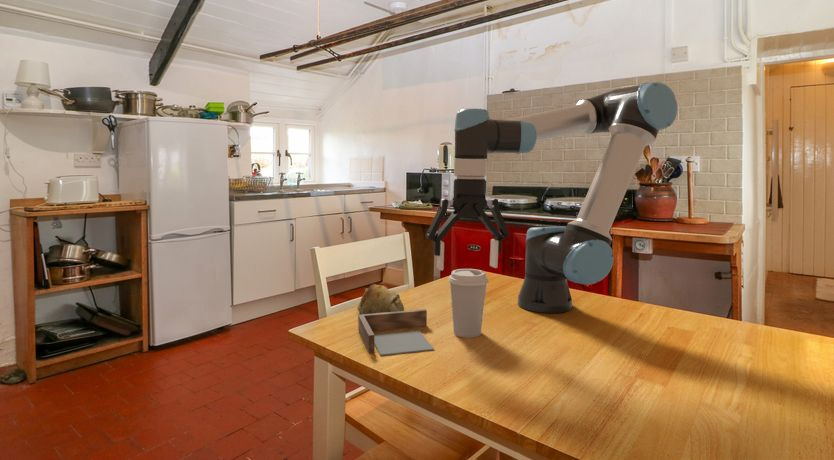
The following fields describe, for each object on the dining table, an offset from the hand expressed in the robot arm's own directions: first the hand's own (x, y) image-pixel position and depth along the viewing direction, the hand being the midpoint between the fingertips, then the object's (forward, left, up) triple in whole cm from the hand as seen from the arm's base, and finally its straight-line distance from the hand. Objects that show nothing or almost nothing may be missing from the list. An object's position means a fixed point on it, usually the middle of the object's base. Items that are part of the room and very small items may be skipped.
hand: (467, 268), depth 113 cm
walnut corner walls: (+16, -1, -16) cm, 23 cm away
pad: (+17, +2, -16) cm, 23 cm away
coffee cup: (0, 0, -16) cm, 16 cm away
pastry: (+17, -22, -17) cm, 32 cm away
